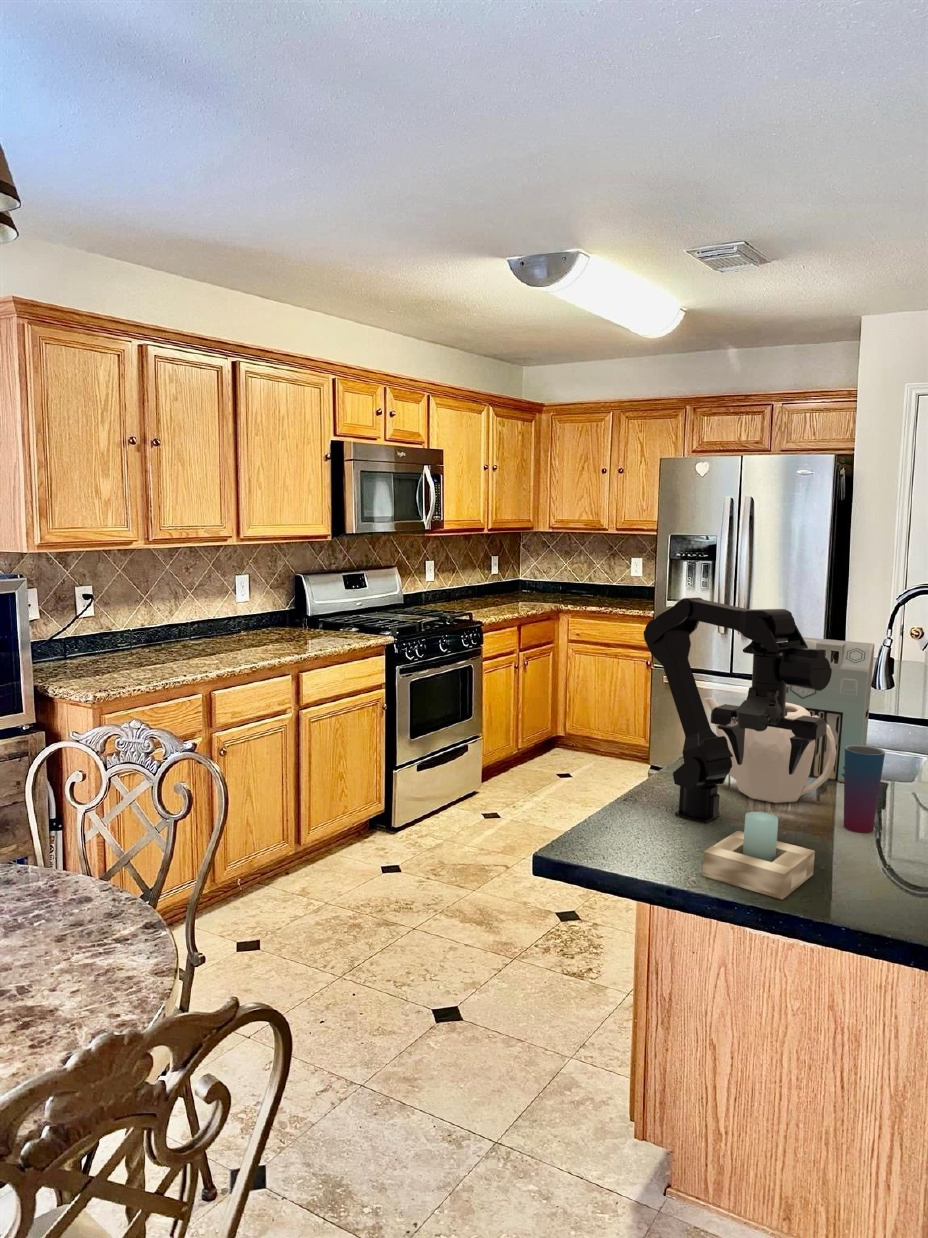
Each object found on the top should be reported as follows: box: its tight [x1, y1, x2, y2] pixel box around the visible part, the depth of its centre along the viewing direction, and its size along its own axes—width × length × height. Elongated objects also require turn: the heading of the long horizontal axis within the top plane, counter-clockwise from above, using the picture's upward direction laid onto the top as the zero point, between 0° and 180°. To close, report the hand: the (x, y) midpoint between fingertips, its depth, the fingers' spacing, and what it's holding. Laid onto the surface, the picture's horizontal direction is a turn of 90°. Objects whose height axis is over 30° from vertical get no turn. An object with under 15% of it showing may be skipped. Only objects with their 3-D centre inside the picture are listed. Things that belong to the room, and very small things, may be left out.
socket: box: [701, 830, 816, 901], centre depth 146 cm, size 13×13×4 cm
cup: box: [843, 744, 886, 834], centre depth 169 cm, size 7×7×15 cm
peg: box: [743, 811, 779, 862], centre depth 146 cm, size 5×5×9 cm
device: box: [786, 636, 875, 784], centre depth 201 cm, size 16×8×30 cm, turn 60°
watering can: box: [704, 697, 836, 804], centre depth 187 cm, size 16×27×19 cm, turn 59°
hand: (765, 769), depth 160 cm, fingers open, 9 cm apart
